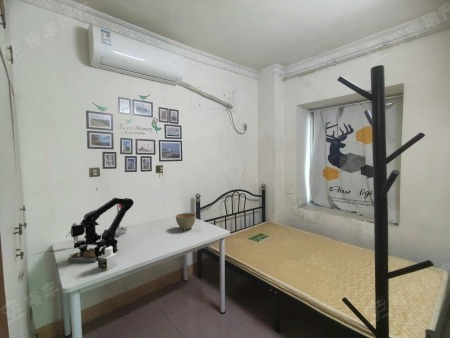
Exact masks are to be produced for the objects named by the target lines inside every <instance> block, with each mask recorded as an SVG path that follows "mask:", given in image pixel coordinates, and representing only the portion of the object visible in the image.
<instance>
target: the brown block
mask: <svg viewBox="0 0 450 338" xmlns="http://www.w3.org/2000/svg"><path fill="white" fill-rule="evenodd" d="M98 256H99V253H98ZM98 256H97V257H98ZM90 257H96V255H95V247H93V248H92V247H91V248H87V250H86V251H85V252H84V258H90ZM97 257H96V258H97Z"/></svg>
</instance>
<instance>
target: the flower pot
mask: <svg viewBox="0 0 450 338" xmlns="http://www.w3.org/2000/svg"><path fill="white" fill-rule="evenodd" d="M196 219H197V214H195V213H192V212H184V213H178V214H176V215H175V220H176V223H177V225H178V226H179V228H180V229H181V230H182V229H189V230H191V229H192V228H193V226H194V225H195V222H196ZM190 228H191V229H190Z"/></svg>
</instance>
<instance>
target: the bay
mask: <svg viewBox="0 0 450 338" xmlns="http://www.w3.org/2000/svg"><path fill="white" fill-rule="evenodd" d="M99 256H101V250H99ZM99 256H98V257H99ZM98 257H97V258H96V257H90V258H84V254H83V252H82V251H81V250H80V249H79V252H78V251H77V252H75V253H73V254H71V255H70V256H69V257H68V259H67V261H68V263H69V264H83V263H84V264H86V263H96V262H98Z"/></svg>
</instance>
